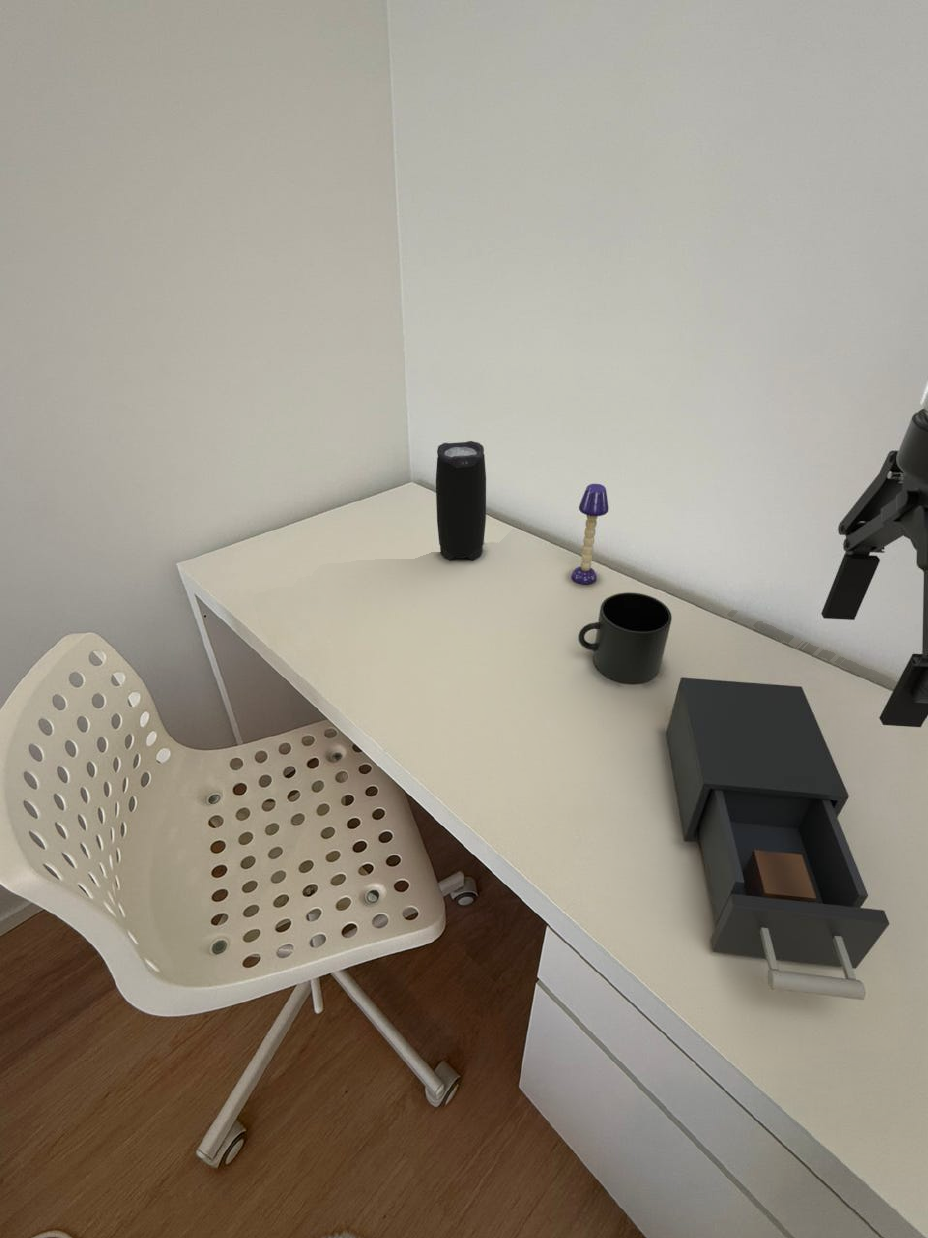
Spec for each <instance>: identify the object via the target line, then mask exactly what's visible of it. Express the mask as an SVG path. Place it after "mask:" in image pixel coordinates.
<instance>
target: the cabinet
mask: <svg viewBox="0 0 928 1238" xmlns="http://www.w3.org/2000/svg"><path fill="white" fill-rule="evenodd" d="M667 724H668V725H667V728H666V732H665V736H666V742H667V748H668V754H669V759H670V766H671V772H672V777H673V783H674V790H675V794H676V795H675V796H676V801H677V806H678V812H679V819H680V824H681V831H682V836H683V841H685V842H692V843H700V837H699V832H698V827H697V825H698V822H699V819H700V816H701V813H702V810H703V807H704V804H705V802H706V799H707V796H708V793H709V790H710V789H720V790H731V791H741V792H752V793H763V794H774V795H784V796H795V797H806V798H817V799H827V800H830V801H831V803H832V806H833V808H834V811H835V813H836V816H837V818H838V817H839V816H840V814H841V812H842V810H843V808H844V807H845V804H846V803H847V801H848V799H849V798H850V795H849V793H848V790H847V788H846V786H845V784H844V781H843V779H842V777H841V775H840V772H839V770H838V767H837V765H836V763H835V761H834V758H833V755H832V754H831V752H830V749H829V746H828V745H827V742H826V740H825V738H824V737H825V736H824V735H823V733H822V731H821V728H820V725H819V723H818V721H817V719H816V717H815V714H814V712H813V710H812V707H811V705H810V703H809V700H808V698H807V695H806V694H805V691H804V688H803V686H800V685H787V684H772V683H761V682H747V681H737V680H736V681H734V680H724V679H723V680H721V679H709V678H695V677H683V676H682V677H680V679H679V682H678V686H677V690H676V694H675V698H674V702H673V706H672V709H671V713H670V717H669V721H668V723H667Z"/></svg>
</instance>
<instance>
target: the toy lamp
mask: <svg viewBox="0 0 928 1238" xmlns="http://www.w3.org/2000/svg"><path fill="white" fill-rule="evenodd" d="M578 510H579V512H580V513H581V514H582V515H585V516H586V520H585V528H584V532H583V533H584V537H583V540H582V541H583V545H582V550H581V551H582V553H581V563H580V566H577V567H576V568H575V569H573V571H572V574H571V580H572V581H573V582H575V583H577V584H580V585H592V584H594V583H595V582H597V578H598V576H597V573H596V571H595V569H593V568H592V560H593V552H594V543H595V535H596V528H597V525H598V523H597V520H598V517H601V516H605V515H606V514H608V513H609V500H608V491H607V488H606V486H605V485H603V484H600V483H590V484H588V485H587V486H586V488H585V490H584V492H583V495H582V497H581V500H580V502H579V505H578Z"/></svg>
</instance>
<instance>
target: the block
mask: <svg viewBox="0 0 928 1238" xmlns="http://www.w3.org/2000/svg"><path fill="white" fill-rule="evenodd" d="M743 878H744V882H745V883H744V886H745V890H746V894H747V896H756V897H765V898H774V899H783V900H792V901H802V902H811V903H814V902H815V900H816V896H815V893H814V890H813V886H812V883H811V880H810V877H809V874H808V871H807V868H806V865H805V862H804V859H803V856H802V855H800V854H790V853H781V852H771V851H761V850H753V853H752V855H751V857H750V859H749V861H748V864H747V866H746V868H745V870H744V873H743Z"/></svg>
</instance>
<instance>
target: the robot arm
mask: <svg viewBox="0 0 928 1238" xmlns="http://www.w3.org/2000/svg"><path fill="white" fill-rule="evenodd" d="M917 402H918V404H919V406H920V407H921V408H922V409H920V410H918V411H917V412H915V413H913V415H912V417H911V420H910V421H909V425H907V428H906V432H905V434H904V436H903V439H902V441H901V443H900V446H899V447H898V448H899V449H898V450H890V451H888V454H887V455H886V457H885V460H884V461H883V464H882V466H881V468H880V471H879V472H878V474H877V475H876V476H875V478H874V479H873V480H872V481H871V483H870V484H869V485H868V487H867V488H866V489H865V490H864V492H863V493H862V494H861V496H860V497H859V498H858V499H857V501H856V502H855V503H854V504H853V506H852V507H851V508H850V509H849V511H848V512H847V513H846V515H845V516H844V517H843V518H842V520H840V522H839V524H838V527H837V531H838V534H839V535H840V536H845V538H844V540H843V543H842V549H843V551H844V555H843V556H842V560H841V562H840V565H839V566H838V569H837V572H836V575H835V577H834V580H833V582H832V585H831V586H830V587H831V588H830V591H828V592H829V593H828V594H827V598H826V600H825V603H824V605H823V608H822V610H821V613H820V615H821V616H822V618H823V619H828V620H848V621H855V619H856V617H857V615H858V613H859V610H860V608H861V605H862V603H863V601H864V598H865V596H866V594H867V592H868V589H869V588H870V585H871V582H872V579H873V578H874V576H875V574H876V571H877V568H878V566H879V564H880V562H881V559H880V558H879V556H878V555H873V554H872V555H871V553H876V554H877V553H879V554H884V553H885V551H884V550H885V548H886V547H887V546H888V545H890V544H892V543H893V542H895V541H897V540H898V539H900V538H902V537H904V538H907V539H909V541H910V543H911V545H912V548H914V550H916V558H915V559H916V563H915V564H916V567H918V569H920V570H922V572H923V590H922V645H921V646H922V647H921V649H922V650H921V653H912V654H911V656H910V658H909V660H908V662H907V664H906V666H905V667H904V669H903V671H902V674H901V675H900V677H899V679H898V681H897V683H896V685H895V686H894V689H893V690H892V692H891V694H890V696H889V698H888V700H887V702H886V704H885V706H884V708H883V710H882V712H881V713H880V715H879V720H880V723H881V724H882V725H883V726H893V727H905V728H906V727H909V728H922V726H923V724H924V723H925V720H926V719H927V717H928V378H927V379H926V381H925V383H924V385H923V389H922V391H921V393H920V396H919V398H918V401H917Z"/></svg>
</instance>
